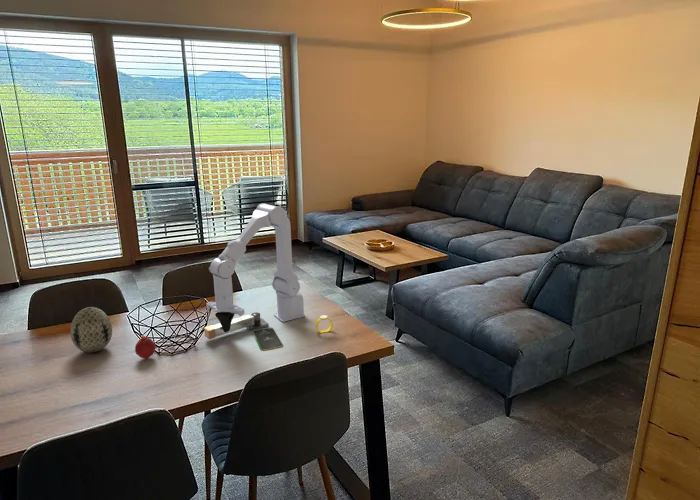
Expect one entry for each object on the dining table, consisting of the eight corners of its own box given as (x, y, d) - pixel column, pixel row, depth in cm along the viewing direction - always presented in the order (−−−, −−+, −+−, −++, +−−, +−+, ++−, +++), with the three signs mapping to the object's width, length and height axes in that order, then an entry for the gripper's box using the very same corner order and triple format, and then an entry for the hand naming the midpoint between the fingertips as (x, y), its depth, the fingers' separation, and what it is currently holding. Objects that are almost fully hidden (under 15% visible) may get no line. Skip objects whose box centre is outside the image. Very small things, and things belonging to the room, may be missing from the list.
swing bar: (262, 322, 170) (261, 314, 169) (209, 339, 157) (208, 330, 156) (257, 319, 172) (257, 311, 171) (205, 336, 160) (204, 327, 159)
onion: (160, 355, 150) (157, 332, 147) (147, 364, 144) (144, 341, 142) (145, 352, 151) (142, 330, 149) (132, 361, 146) (129, 338, 144)
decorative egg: (96, 339, 160) (89, 299, 156) (123, 345, 157) (116, 303, 152) (65, 356, 150) (57, 312, 145) (94, 362, 146) (86, 317, 142)
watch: (317, 335, 163) (316, 320, 161) (315, 332, 166) (313, 317, 164) (334, 331, 165) (332, 316, 164) (331, 328, 168) (329, 313, 166)
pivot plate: (262, 320, 175) (261, 318, 174) (268, 326, 170) (268, 323, 170) (244, 325, 171) (243, 322, 171) (250, 331, 166) (250, 328, 166)
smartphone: (261, 349, 152) (251, 330, 165) (261, 352, 152) (251, 333, 166) (283, 345, 155) (272, 326, 168) (283, 347, 155) (272, 329, 168)
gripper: (198, 294, 155) (202, 331, 159) (233, 301, 149) (236, 340, 153) (213, 287, 162) (216, 323, 165) (247, 294, 155) (249, 331, 159)
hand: (226, 331), depth 160 cm, fingers closed
